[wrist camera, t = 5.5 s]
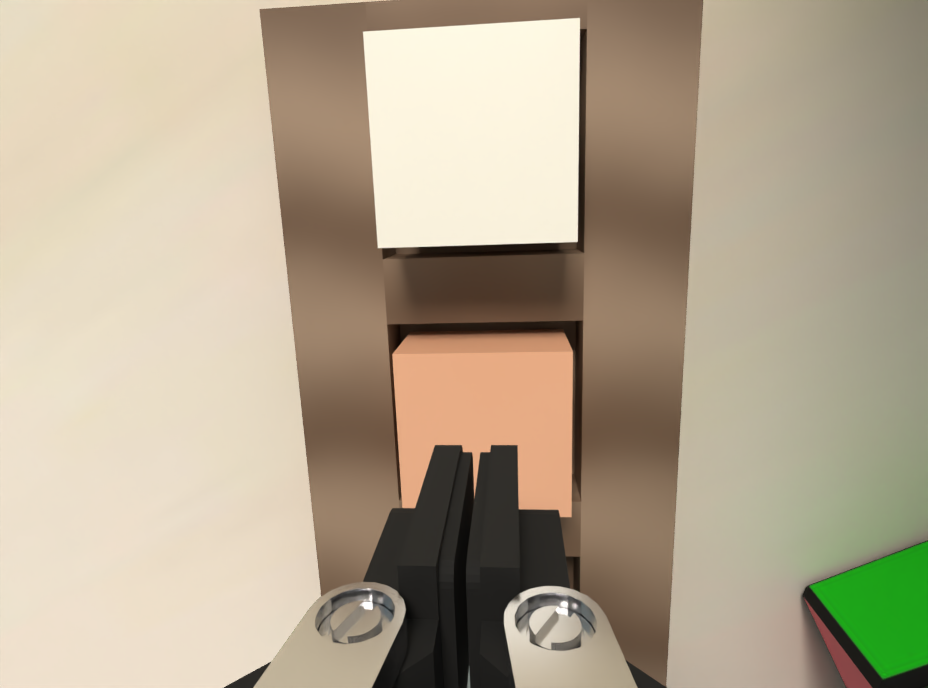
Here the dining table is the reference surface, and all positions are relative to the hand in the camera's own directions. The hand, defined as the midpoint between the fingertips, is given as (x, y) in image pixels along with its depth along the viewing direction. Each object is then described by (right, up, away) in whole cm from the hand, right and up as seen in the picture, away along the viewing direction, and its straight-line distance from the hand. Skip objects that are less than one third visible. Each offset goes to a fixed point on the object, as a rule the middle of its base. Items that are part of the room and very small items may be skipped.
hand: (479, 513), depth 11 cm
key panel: (+1, +2, +9) cm, 9 cm away
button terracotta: (0, +1, +8) cm, 8 cm away
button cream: (0, +9, +5) cm, 10 cm away
